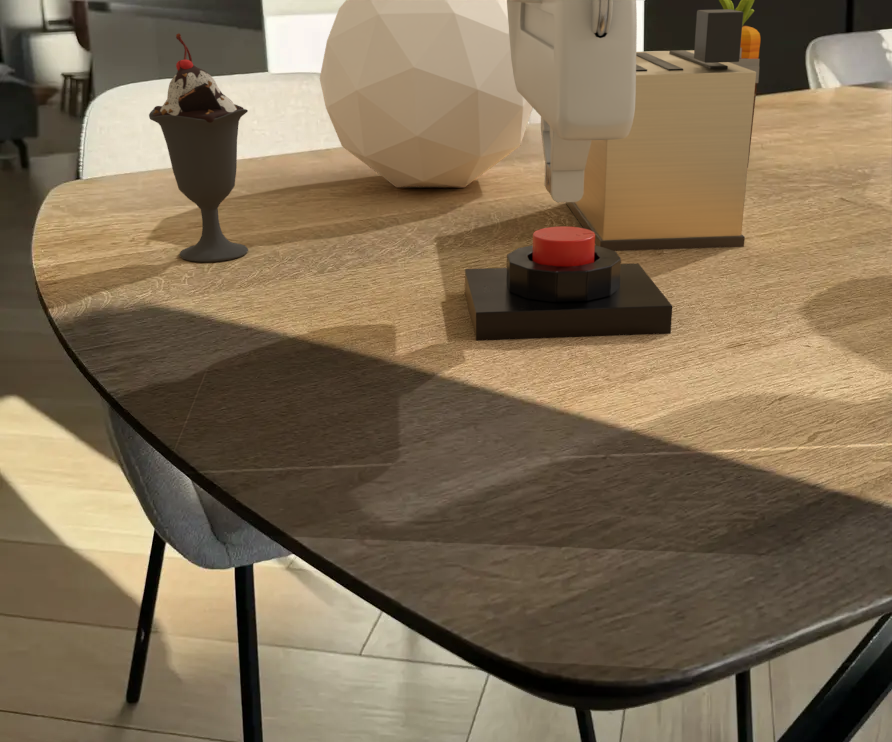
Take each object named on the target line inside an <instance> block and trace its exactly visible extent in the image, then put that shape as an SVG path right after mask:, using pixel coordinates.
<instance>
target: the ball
mask: <svg viewBox="0 0 892 742" xmlns="http://www.w3.org/2000/svg"><path fill="white" fill-rule="evenodd" d="M325 43H326V44H325V49H324V50H325V51H324V54H323V59H322V65H321V69H320V74H319V83H320V87H321V91H322V97H323V101H324V106H325V109H326V112H327V114H328V116H329V119H330V121H331V123H332V126H333V128H334V131H335V133H336V136H337V138H338V141H339V142H340V145H341V147H342V148H344V149H345V150H346V151H347V152H349V153H350V154H351V155H353V156H354V157H356V158H357V159H358V160H359V161H361V162H362V163H364V164H365V165H366V166H367V167H368V168H370V169H371V170H373V171H374V172H375V173H377V174H378V175H379V176H381V177H382V178H383V179H385V180H386V181H388V182H389V183H390V184H392V185H393V186H394V187H395V188H426V189H427V188H436V189H437V188H440V189H441V188H443V189H445V188H447V189H449V188H452V189H453V188H455V189H457V188H458V189H459V188H463V189H464V188H466V187H467V186H468V185H470V184H471V183H472V182H474V181H475V180H477V179H478V178H479V177H481V176H483V174H485V173H486V172H487V171H489V170H490V169H491V168H493V167H494V166H496V165H497V164H499V162H501V161H503V160H504V159H505V158H507V157H508V156H509V155H510V154H512V153H513V152H514V151H516V150H517V149H518V148H520V147H521V145H522V142H523V139H524V136H525V133H526V130H527V127H528V123H529V121H530V119H531V114H532V112H533V110H534V108H533V107H532V106H531V105H530V104H529V103H528V102H527V101H526V100H525V98H524V97H523V96H522V95H521V94H520V93H519V92H518V91H517V89H516V85H515V80H514V75H513V68H512V60H511V49H510V37H509V24H508V11H507V0H345V1H344V2H343V3H342V4H341V5H340V6H339V8H338V10H337V13H336V16H335V18H334V21H333V23H332V26H331V29H330V32H329V34H328V36H327V38H326V42H325Z"/></svg>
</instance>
